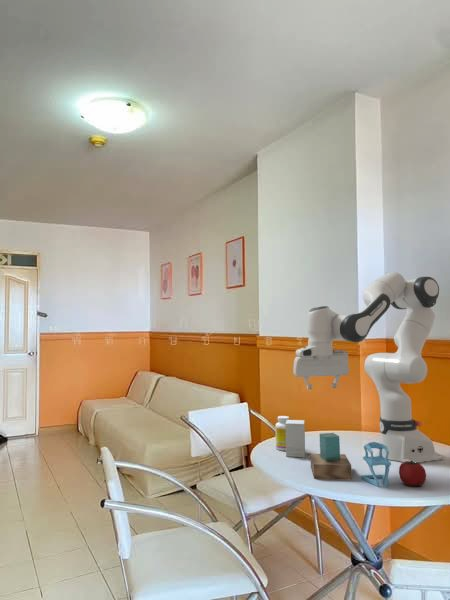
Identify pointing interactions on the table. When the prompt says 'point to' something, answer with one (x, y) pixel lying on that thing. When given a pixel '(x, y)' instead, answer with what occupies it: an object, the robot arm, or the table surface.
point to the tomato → (412, 473)
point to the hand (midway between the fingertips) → (321, 388)
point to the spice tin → (329, 447)
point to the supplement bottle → (281, 433)
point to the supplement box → (295, 438)
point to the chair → (376, 463)
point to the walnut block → (331, 468)
